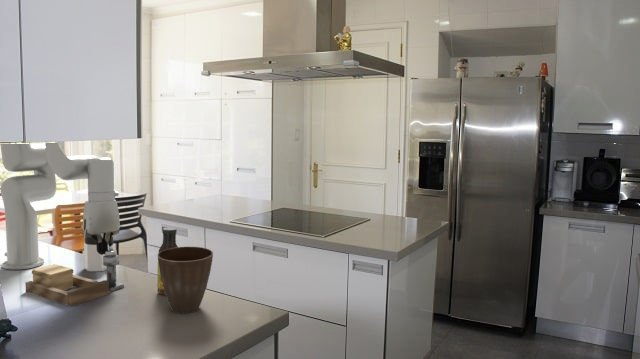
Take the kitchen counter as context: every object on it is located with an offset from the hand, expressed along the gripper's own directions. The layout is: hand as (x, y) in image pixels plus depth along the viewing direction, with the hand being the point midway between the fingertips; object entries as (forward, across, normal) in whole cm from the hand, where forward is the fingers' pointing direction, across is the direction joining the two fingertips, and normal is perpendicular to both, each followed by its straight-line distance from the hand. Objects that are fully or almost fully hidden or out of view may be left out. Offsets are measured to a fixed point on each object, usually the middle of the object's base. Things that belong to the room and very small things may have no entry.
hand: (102, 253), depth 156 cm
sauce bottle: (+10, -12, +21) cm, 26 cm away
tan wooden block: (+10, +13, -4) cm, 17 cm away
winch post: (+10, 0, +6) cm, 12 cm away
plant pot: (+10, -10, +36) cm, 38 cm away
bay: (+10, +12, +2) cm, 15 cm away
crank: (-1, -2, +2) cm, 3 cm away
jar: (+10, -5, -17) cm, 20 cm away
